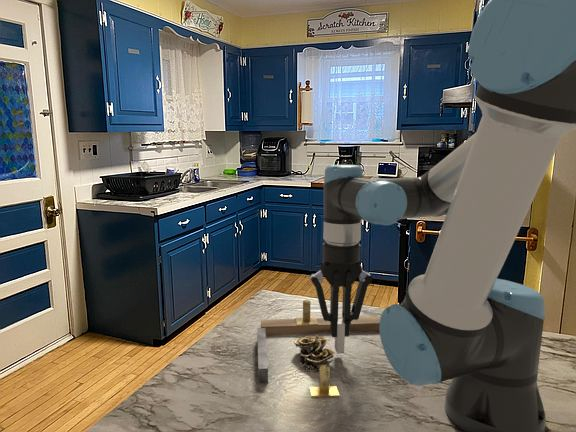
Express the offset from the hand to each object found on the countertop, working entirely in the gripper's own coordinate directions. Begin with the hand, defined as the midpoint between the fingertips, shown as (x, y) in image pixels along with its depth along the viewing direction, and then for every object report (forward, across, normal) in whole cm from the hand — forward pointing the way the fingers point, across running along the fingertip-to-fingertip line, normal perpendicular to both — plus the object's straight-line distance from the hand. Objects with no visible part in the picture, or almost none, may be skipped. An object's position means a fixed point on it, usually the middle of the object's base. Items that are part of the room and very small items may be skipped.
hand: (339, 350), depth 94 cm
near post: (+2, +5, +13) cm, 14 cm away
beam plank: (+2, +1, -14) cm, 14 cm away
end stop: (+2, +16, 0) cm, 16 cm away
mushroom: (+2, +5, 0) cm, 5 cm away
